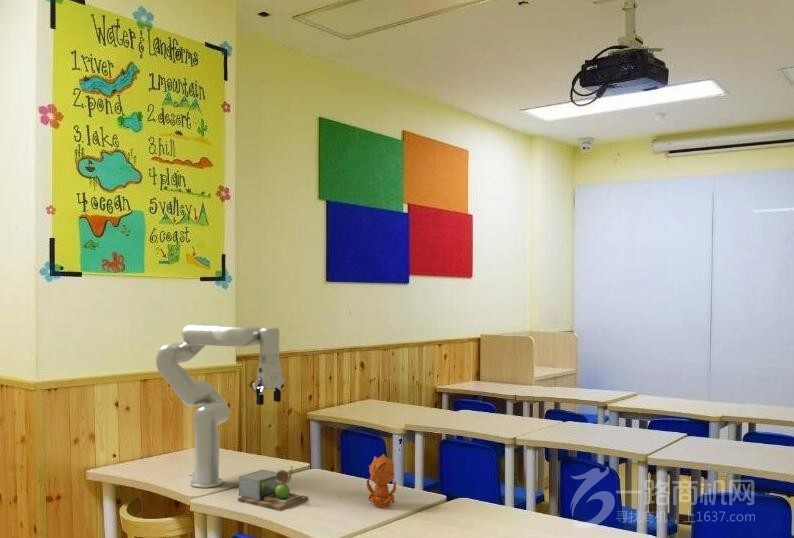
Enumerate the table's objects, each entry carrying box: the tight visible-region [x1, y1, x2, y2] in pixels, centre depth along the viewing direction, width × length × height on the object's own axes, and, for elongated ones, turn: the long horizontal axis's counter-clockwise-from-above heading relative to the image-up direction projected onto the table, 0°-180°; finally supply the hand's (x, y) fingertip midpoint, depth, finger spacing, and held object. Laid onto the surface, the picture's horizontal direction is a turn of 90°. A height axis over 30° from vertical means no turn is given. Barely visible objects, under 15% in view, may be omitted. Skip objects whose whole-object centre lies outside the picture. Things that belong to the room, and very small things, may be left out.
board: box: [237, 491, 309, 511], centre depth 270 cm, size 20×16×2 cm
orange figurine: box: [366, 453, 397, 509], centre depth 266 cm, size 11×11×18 cm
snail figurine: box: [275, 465, 294, 499], centre depth 267 cm, size 5×6×12 cm
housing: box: [238, 469, 279, 501], centre depth 273 cm, size 10×13×7 cm
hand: (268, 403), depth 285 cm, fingers open, 9 cm apart
